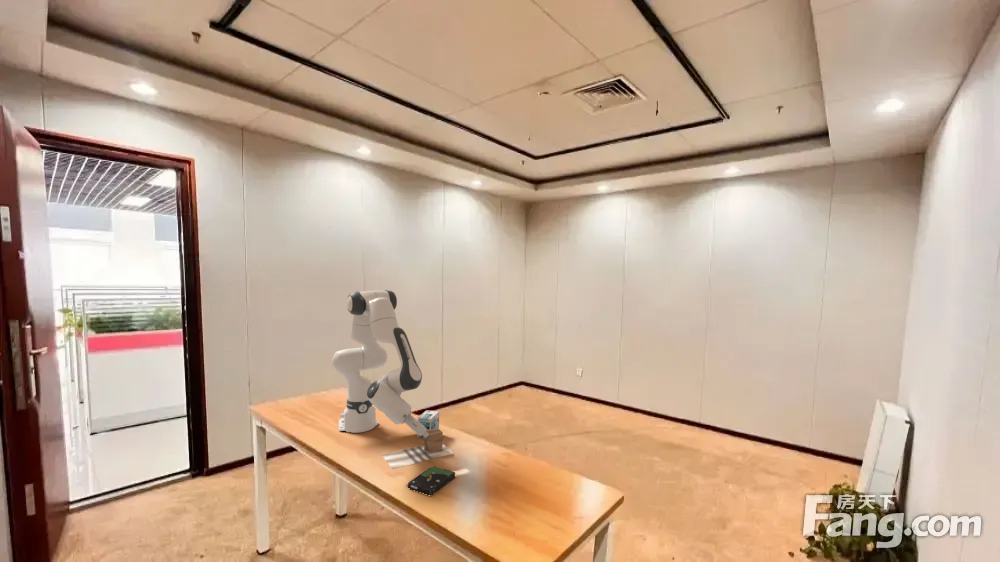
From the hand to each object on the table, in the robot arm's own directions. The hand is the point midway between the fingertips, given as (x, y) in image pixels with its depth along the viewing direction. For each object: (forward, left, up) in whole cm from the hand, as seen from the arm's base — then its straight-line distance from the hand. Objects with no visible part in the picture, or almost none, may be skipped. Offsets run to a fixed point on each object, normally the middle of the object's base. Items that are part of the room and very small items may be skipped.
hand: (422, 431), depth 166 cm
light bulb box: (-17, +10, -11) cm, 22 cm away
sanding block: (0, +5, -9) cm, 10 cm away
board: (0, -2, -10) cm, 11 cm away
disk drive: (+22, -5, -11) cm, 25 cm away
